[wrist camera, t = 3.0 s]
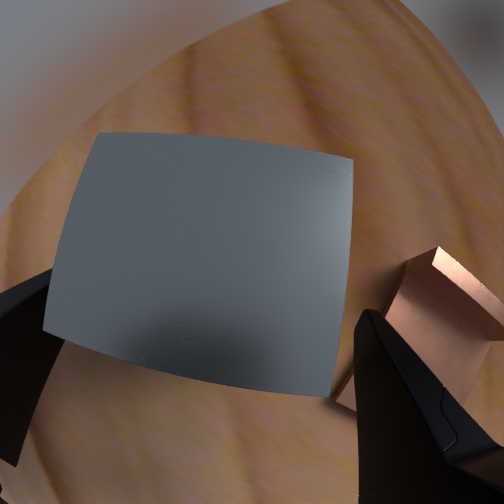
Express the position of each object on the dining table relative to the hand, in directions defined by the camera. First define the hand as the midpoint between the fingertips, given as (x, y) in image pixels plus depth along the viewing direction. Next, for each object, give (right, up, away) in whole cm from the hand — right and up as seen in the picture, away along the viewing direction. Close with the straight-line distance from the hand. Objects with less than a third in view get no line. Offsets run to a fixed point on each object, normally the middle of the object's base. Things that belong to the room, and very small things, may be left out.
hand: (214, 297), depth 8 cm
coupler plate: (+13, -6, +7) cm, 16 cm away
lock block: (0, -1, +8) cm, 8 cm away
